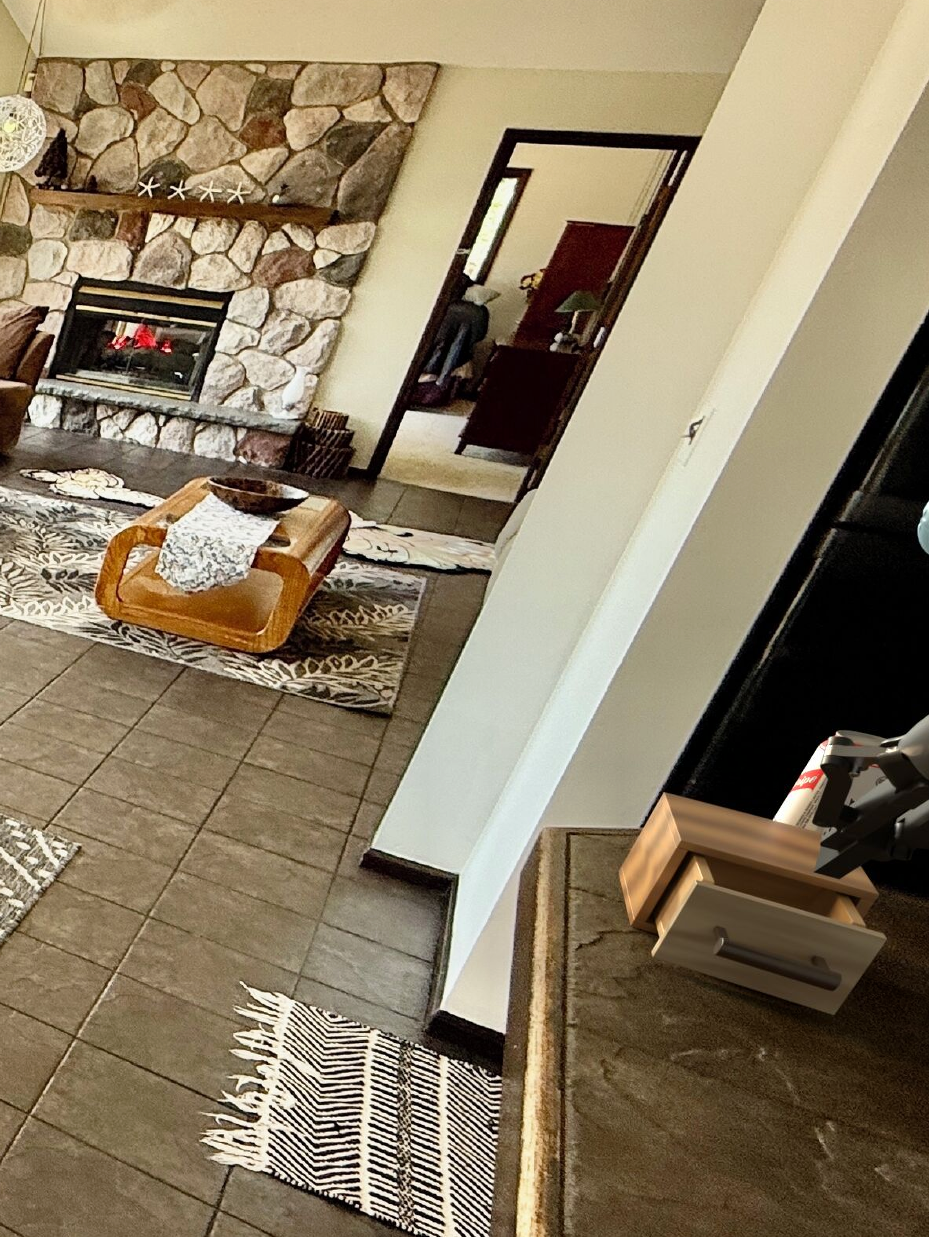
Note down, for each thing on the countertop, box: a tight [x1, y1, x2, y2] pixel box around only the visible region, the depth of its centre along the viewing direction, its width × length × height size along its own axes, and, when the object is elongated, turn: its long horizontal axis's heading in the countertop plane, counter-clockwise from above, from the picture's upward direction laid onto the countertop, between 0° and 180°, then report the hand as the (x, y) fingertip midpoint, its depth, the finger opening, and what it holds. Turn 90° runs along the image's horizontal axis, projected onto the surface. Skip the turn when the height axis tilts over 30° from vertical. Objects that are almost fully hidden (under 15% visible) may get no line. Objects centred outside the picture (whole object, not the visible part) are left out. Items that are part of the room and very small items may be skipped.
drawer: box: [651, 850, 888, 1016], centre depth 104 cm, size 18×11×8 cm, turn 139°
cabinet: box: [618, 792, 880, 936], centre depth 112 cm, size 15×13×10 cm
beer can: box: [772, 730, 888, 833], centre depth 122 cm, size 6×6×16 cm
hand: (830, 861), depth 96 cm, fingers closed
